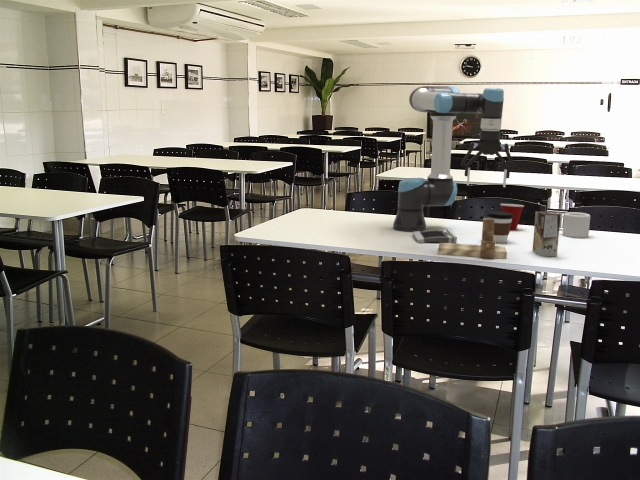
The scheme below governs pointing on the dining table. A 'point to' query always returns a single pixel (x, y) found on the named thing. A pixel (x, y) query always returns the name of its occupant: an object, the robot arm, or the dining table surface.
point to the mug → (576, 225)
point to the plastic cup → (515, 211)
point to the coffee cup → (501, 225)
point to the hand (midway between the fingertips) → (485, 185)
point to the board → (468, 250)
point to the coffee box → (546, 233)
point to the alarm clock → (435, 236)
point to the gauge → (487, 239)
